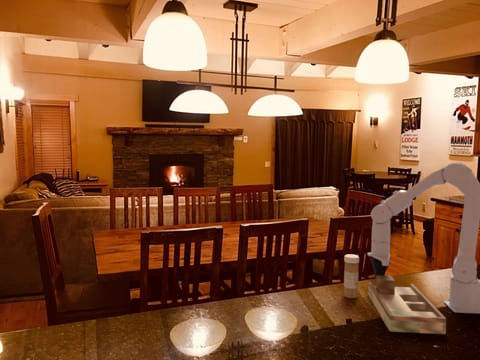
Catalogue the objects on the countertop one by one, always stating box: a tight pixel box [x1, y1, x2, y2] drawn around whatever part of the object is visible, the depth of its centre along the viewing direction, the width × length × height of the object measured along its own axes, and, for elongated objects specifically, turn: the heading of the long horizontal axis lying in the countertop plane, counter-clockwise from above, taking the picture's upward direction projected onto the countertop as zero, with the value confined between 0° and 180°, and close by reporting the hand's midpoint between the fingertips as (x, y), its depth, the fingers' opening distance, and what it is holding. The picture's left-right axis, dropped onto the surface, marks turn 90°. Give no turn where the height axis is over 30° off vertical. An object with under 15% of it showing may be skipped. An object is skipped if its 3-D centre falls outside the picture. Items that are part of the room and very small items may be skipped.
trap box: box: [367, 281, 447, 335], centre depth 116 cm, size 14×26×4 cm, turn 174°
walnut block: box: [375, 275, 396, 295], centre depth 123 cm, size 4×4×4 cm
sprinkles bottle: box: [343, 253, 360, 299], centre depth 127 cm, size 5×5×13 cm
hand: (379, 280), depth 131 cm, fingers closed
